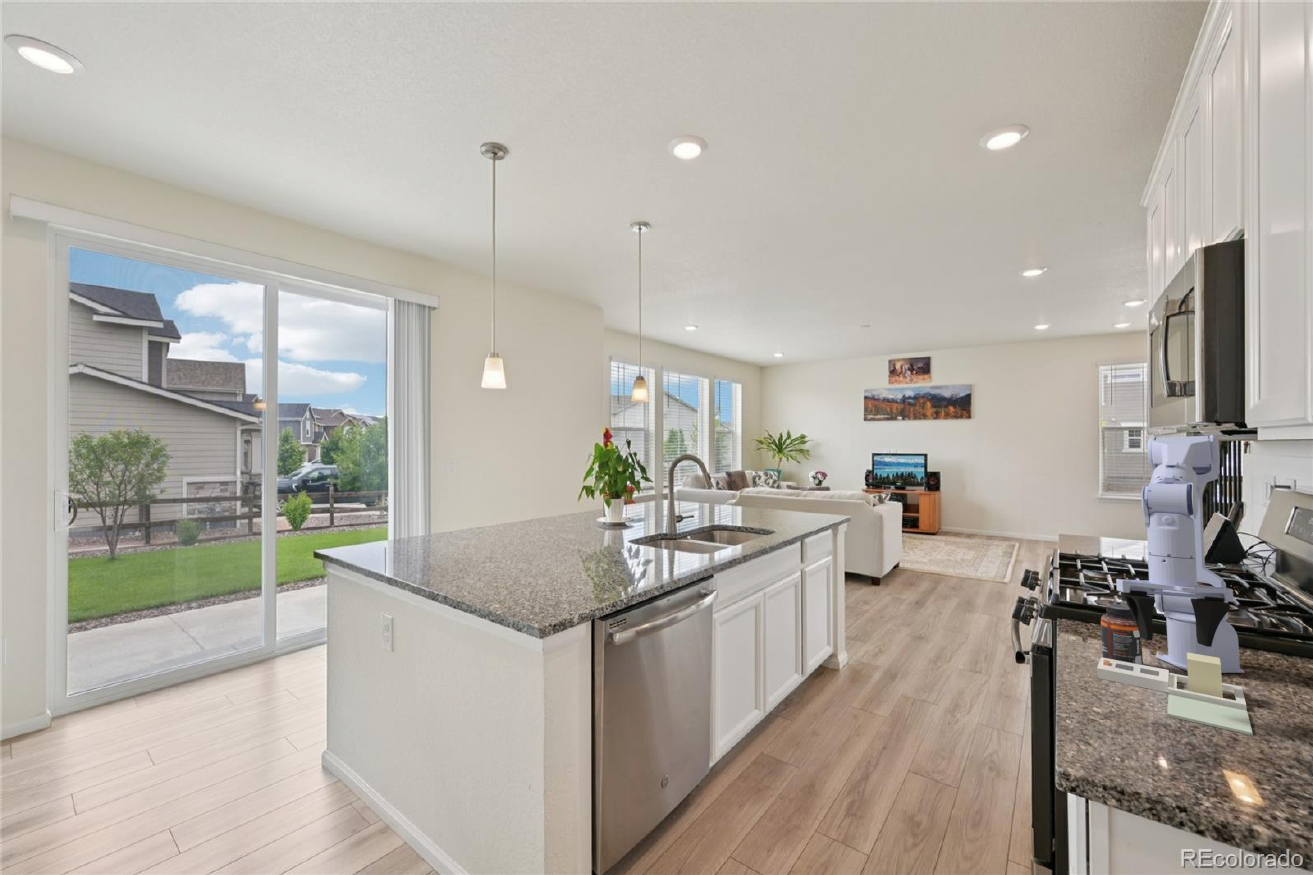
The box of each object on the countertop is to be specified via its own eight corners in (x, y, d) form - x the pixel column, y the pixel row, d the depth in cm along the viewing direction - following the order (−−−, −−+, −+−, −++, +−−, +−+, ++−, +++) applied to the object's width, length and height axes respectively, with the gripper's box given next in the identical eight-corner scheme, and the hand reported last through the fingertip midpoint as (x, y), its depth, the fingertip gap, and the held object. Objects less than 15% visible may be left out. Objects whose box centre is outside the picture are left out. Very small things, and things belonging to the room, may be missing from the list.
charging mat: (1168, 696, 91) (1168, 694, 91) (1247, 713, 85) (1247, 711, 85) (1167, 715, 85) (1167, 713, 85) (1252, 735, 79) (1252, 732, 79)
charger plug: (1221, 693, 92) (1219, 657, 92) (1223, 701, 89) (1220, 664, 90) (1188, 687, 95) (1186, 652, 95) (1189, 694, 92) (1187, 658, 92)
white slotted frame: (1242, 692, 92) (1241, 679, 92) (1246, 711, 86) (1245, 697, 86) (1102, 665, 105) (1101, 653, 105) (1096, 679, 99) (1096, 667, 99)
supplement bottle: (1151, 672, 101) (1148, 611, 102) (1114, 670, 103) (1111, 610, 103) (1130, 660, 107) (1127, 602, 108) (1095, 658, 108) (1093, 601, 109)
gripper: (1131, 555, 87) (1134, 642, 86) (1246, 563, 83) (1251, 654, 82) (1109, 551, 94) (1111, 632, 93) (1213, 558, 90) (1218, 643, 88)
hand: (1175, 642), depth 88 cm, fingers open, 7 cm apart
